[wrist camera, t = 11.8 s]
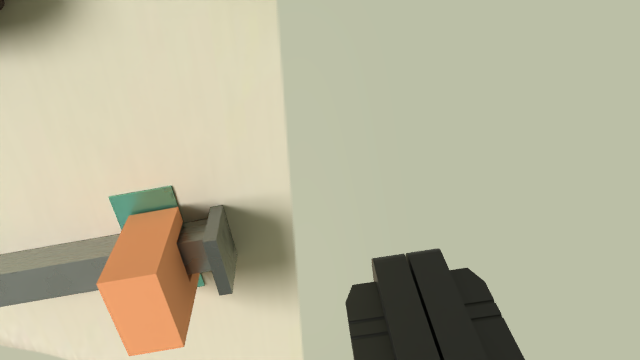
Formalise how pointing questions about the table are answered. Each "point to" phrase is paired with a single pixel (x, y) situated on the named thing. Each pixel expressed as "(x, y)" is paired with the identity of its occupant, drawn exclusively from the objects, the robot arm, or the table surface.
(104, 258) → the bar
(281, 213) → the table surface
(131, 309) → the sleeve
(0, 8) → the dark brown rough lump
